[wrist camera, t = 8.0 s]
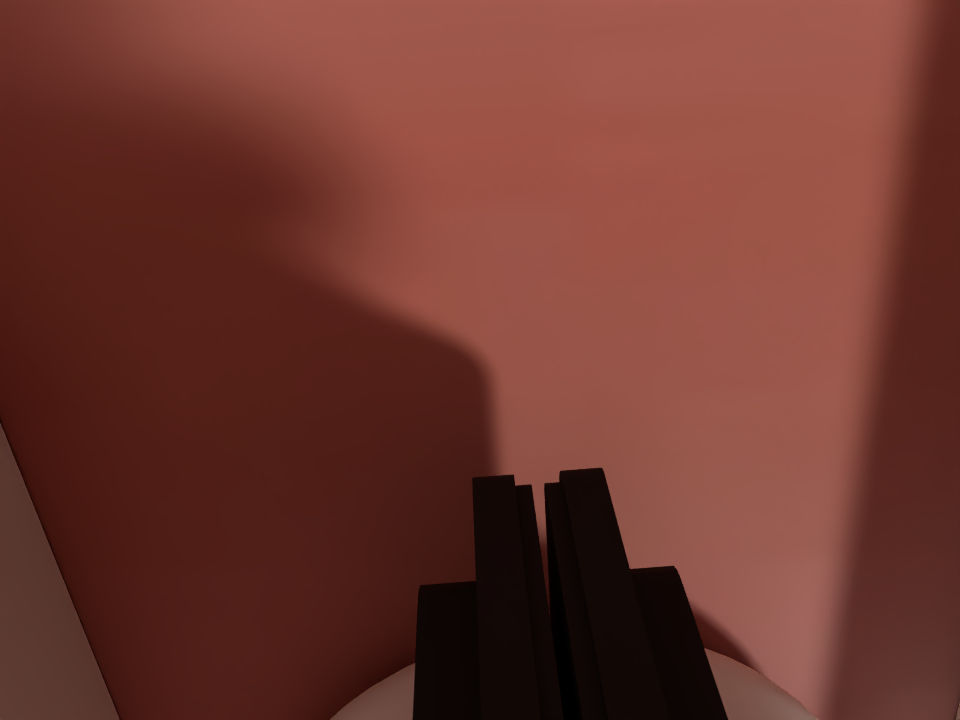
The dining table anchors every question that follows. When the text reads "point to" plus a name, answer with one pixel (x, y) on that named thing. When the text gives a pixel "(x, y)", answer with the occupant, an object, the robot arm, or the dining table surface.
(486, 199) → the dining table surface
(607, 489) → the robot arm
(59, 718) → the cup pocket
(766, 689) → the cup
